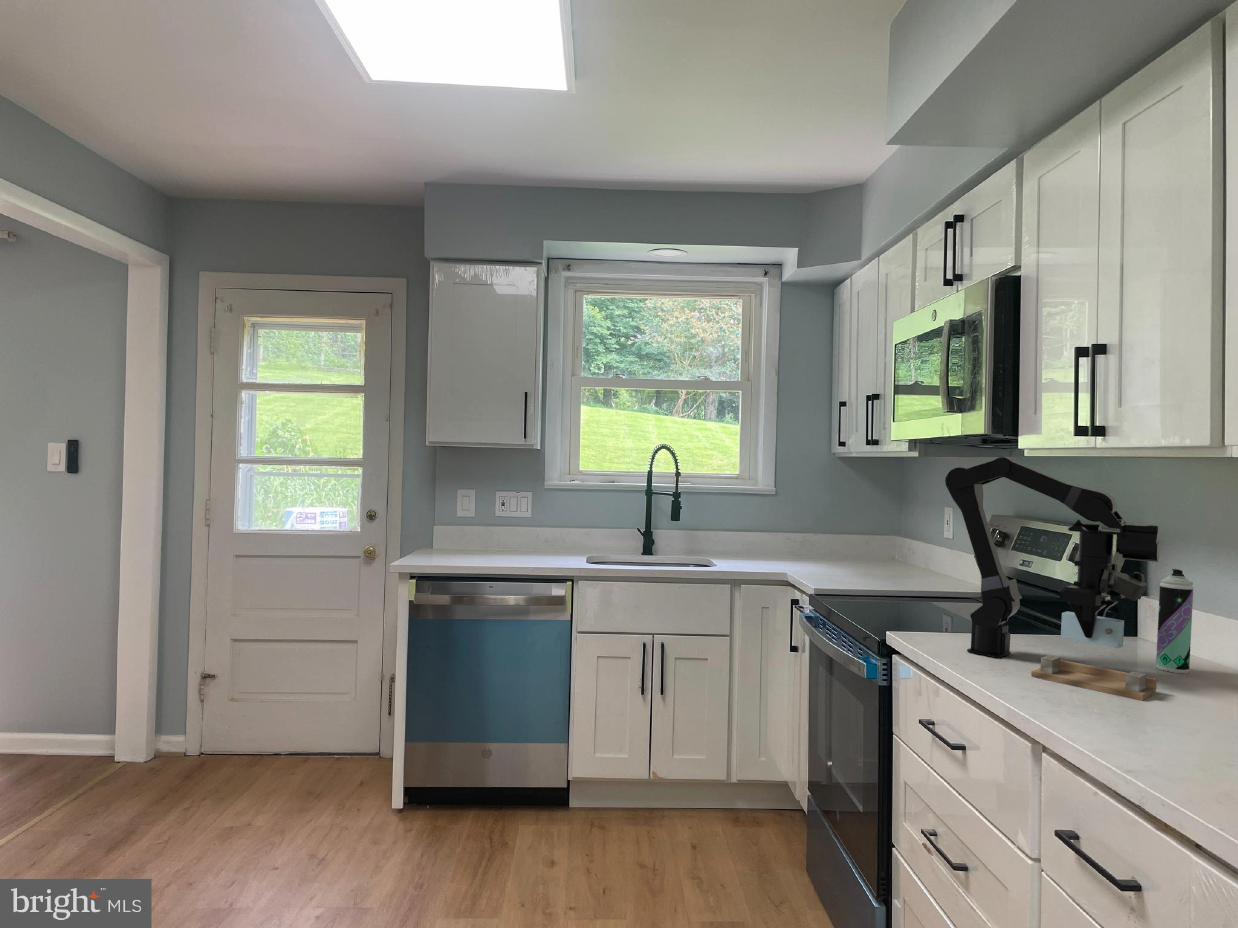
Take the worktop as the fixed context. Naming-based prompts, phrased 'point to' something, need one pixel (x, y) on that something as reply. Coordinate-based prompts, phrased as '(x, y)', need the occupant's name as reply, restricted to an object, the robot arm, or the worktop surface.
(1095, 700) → the worktop surface
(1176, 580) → the spray can
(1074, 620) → the door panel
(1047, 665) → the rail
